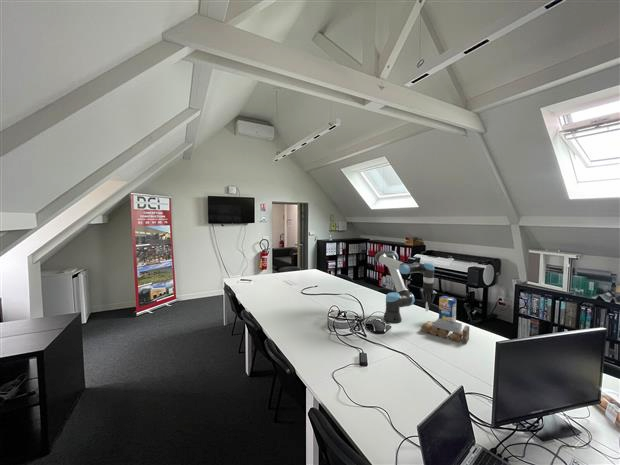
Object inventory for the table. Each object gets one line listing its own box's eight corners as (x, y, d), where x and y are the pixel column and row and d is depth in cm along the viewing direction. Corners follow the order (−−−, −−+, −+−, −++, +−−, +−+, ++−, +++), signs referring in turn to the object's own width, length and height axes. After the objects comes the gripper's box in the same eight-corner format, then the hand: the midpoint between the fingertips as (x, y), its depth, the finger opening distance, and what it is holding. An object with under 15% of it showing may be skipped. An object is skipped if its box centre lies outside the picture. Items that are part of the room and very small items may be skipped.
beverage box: (452, 326, 207) (452, 300, 206) (438, 322, 216) (439, 297, 215) (455, 324, 211) (456, 298, 210) (442, 320, 220) (443, 295, 219)
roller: (449, 339, 184) (458, 343, 180) (451, 332, 183) (460, 336, 179) (453, 333, 192) (461, 338, 189) (455, 327, 191) (464, 331, 187)
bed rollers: (446, 339, 186) (446, 331, 185) (421, 331, 198) (421, 324, 198) (450, 333, 194) (450, 326, 194) (425, 327, 206) (425, 320, 206)
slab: (434, 326, 191) (434, 321, 191) (438, 322, 199) (438, 318, 198) (458, 333, 181) (458, 327, 180) (461, 328, 188) (461, 323, 188)
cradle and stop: (446, 338, 186) (447, 325, 185) (450, 334, 193) (450, 321, 193) (466, 344, 178) (466, 330, 177) (469, 339, 185) (469, 326, 184)
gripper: (418, 281, 202) (417, 309, 204) (435, 284, 193) (434, 314, 195) (421, 279, 207) (420, 307, 209) (438, 282, 198) (437, 311, 200)
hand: (427, 310), depth 202 cm, fingers closed
